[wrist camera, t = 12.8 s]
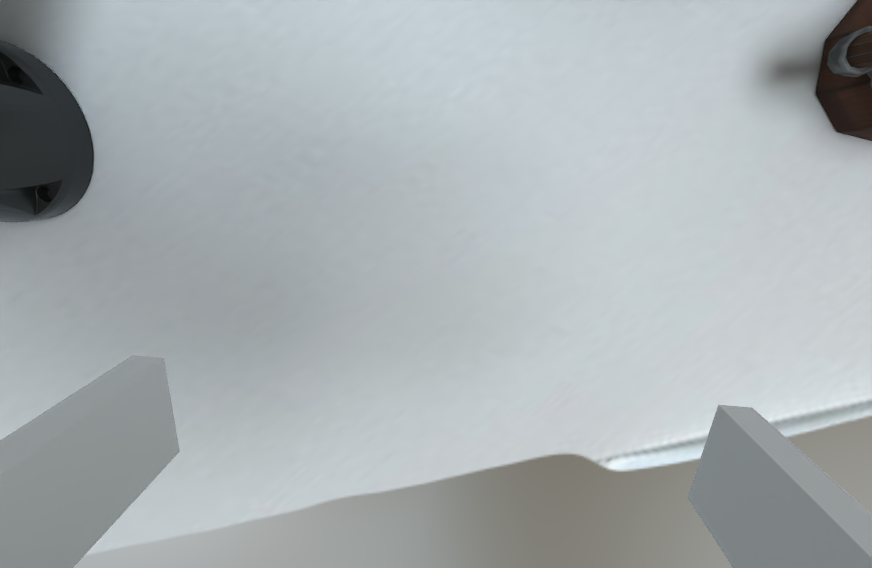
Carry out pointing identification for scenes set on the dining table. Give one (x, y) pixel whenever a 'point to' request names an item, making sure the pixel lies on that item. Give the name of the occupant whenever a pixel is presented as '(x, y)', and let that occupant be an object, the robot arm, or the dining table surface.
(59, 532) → the robot arm
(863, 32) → the mug
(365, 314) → the dining table surface
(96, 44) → the dining table surface
